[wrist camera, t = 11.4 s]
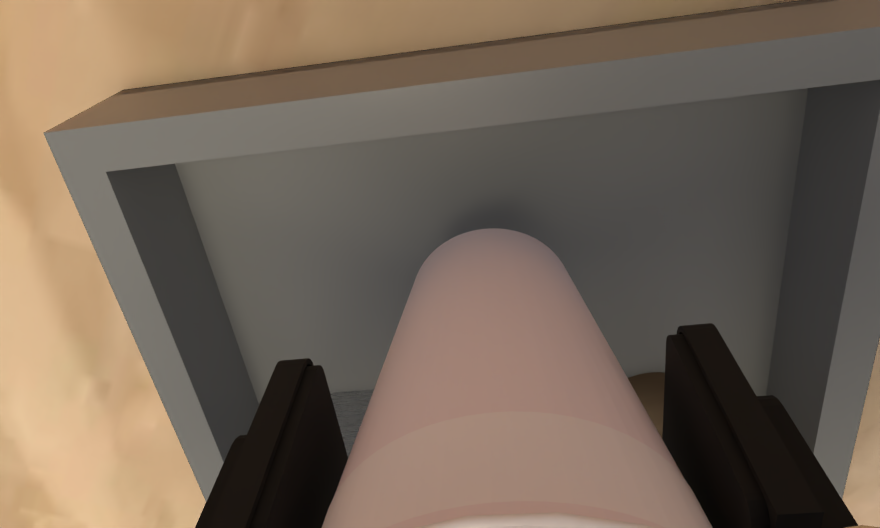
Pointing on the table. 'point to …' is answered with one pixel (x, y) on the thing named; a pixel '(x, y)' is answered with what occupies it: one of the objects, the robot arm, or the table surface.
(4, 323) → the table surface
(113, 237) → the tray
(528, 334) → the smoothie
